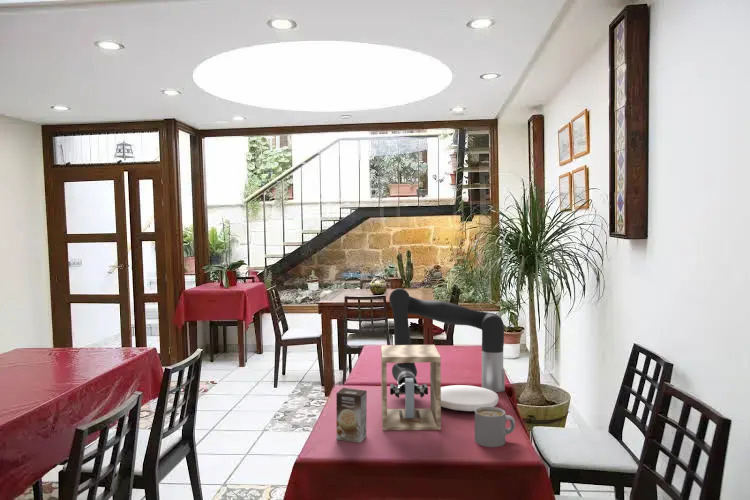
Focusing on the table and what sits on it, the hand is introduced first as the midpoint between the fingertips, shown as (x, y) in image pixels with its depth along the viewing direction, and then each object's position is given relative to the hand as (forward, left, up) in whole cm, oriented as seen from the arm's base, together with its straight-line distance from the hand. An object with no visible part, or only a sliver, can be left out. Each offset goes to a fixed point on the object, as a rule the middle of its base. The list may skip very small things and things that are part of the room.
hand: (410, 395), depth 194 cm
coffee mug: (-27, +18, -10) cm, 34 cm away
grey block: (0, -2, -9) cm, 9 cm away
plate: (-24, -19, -10) cm, 32 cm away
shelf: (0, -2, -10) cm, 10 cm away
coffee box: (+21, +14, -10) cm, 27 cm away
